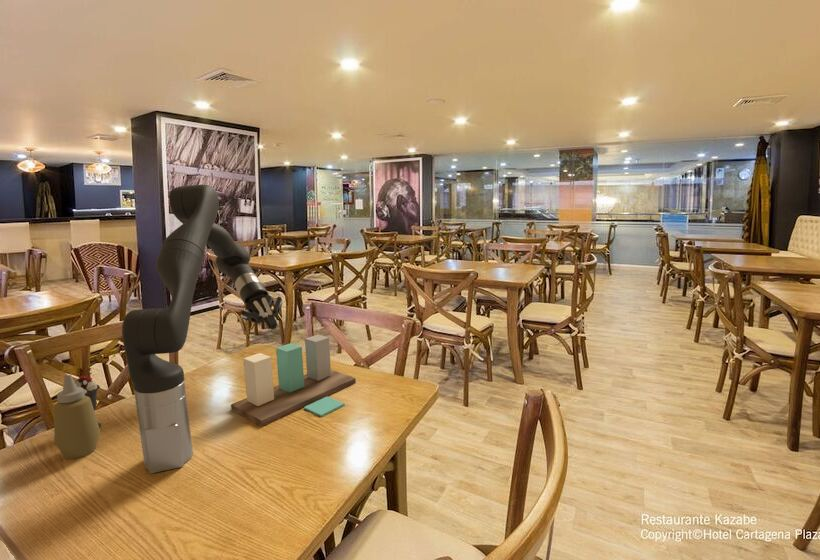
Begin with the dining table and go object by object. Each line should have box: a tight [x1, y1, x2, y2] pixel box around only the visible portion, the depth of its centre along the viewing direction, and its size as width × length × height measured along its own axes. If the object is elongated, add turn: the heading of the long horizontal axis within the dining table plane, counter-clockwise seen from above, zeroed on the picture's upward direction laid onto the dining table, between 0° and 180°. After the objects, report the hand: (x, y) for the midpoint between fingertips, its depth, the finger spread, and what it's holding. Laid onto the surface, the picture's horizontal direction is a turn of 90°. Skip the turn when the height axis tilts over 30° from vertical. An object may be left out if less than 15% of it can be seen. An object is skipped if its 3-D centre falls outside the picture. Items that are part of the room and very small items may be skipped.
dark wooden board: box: [230, 369, 357, 427], centre depth 125 cm, size 14×32×2 cm, turn 141°
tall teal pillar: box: [275, 342, 305, 393], centre depth 126 cm, size 5×5×12 cm
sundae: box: [74, 367, 102, 429], centre depth 107 cm, size 7×7×15 cm
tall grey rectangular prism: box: [304, 334, 332, 381], centre depth 133 cm, size 5×5×12 cm
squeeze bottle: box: [52, 374, 101, 459], centre depth 97 cm, size 8×8×18 cm
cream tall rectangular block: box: [243, 352, 274, 406], centre depth 118 cm, size 5×5×12 cm
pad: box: [303, 395, 346, 418], centre depth 118 cm, size 7×8×1 cm
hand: (273, 327), depth 128 cm, fingers closed
